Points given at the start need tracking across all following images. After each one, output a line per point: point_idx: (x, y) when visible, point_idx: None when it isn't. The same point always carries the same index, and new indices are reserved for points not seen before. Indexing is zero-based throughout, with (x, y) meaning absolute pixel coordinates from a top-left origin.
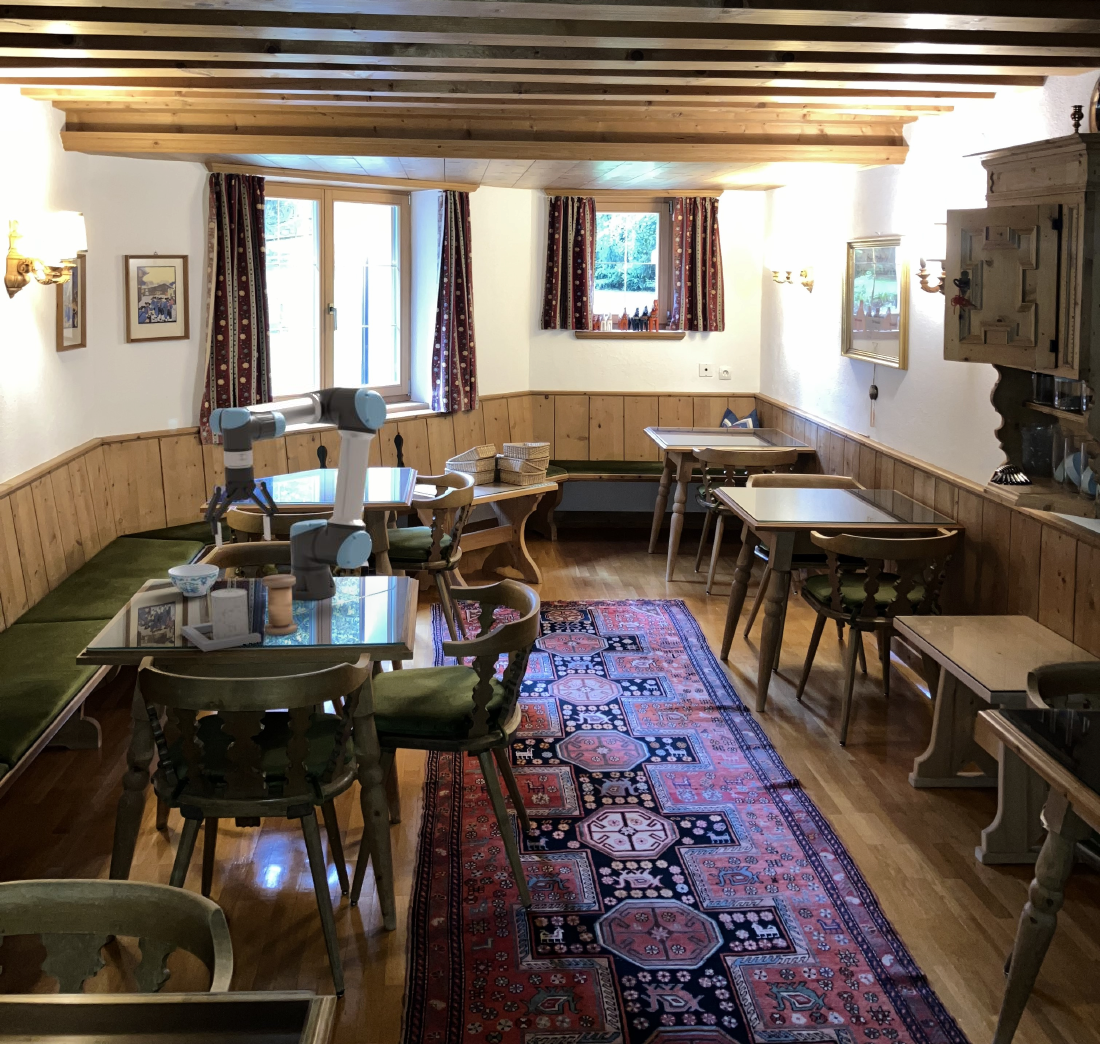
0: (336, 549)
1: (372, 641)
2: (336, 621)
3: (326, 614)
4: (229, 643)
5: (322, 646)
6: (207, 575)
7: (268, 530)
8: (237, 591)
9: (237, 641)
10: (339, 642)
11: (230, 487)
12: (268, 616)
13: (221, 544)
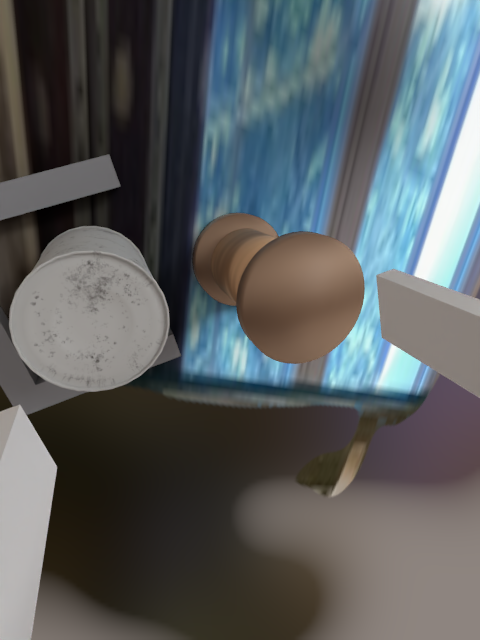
0: None
1: (391, 380)
2: (376, 210)
3: (373, 127)
4: None
5: (301, 398)
6: None
7: (440, 366)
8: (131, 304)
9: None
10: (337, 377)
11: None
12: (217, 275)
13: (50, 483)
